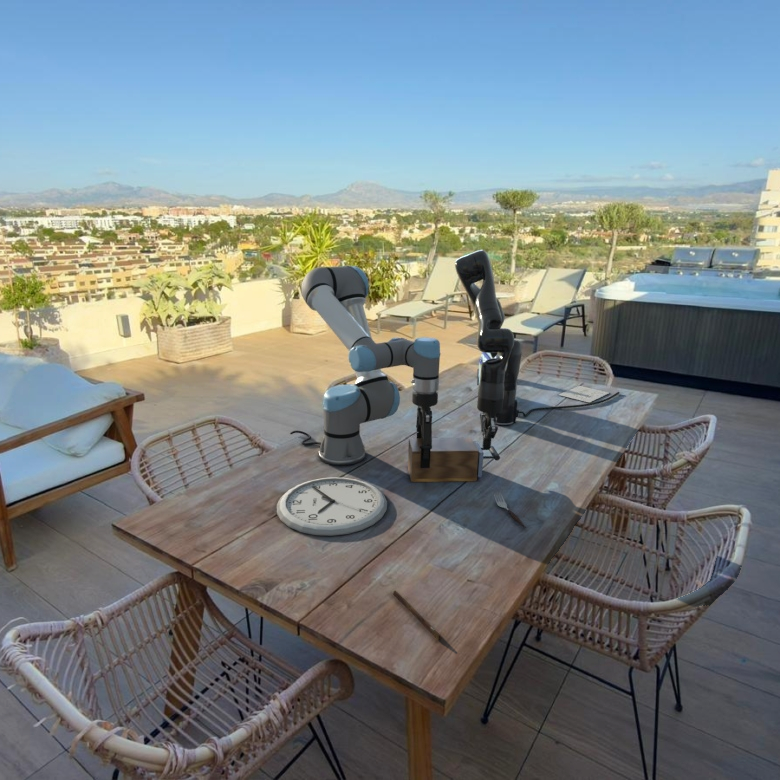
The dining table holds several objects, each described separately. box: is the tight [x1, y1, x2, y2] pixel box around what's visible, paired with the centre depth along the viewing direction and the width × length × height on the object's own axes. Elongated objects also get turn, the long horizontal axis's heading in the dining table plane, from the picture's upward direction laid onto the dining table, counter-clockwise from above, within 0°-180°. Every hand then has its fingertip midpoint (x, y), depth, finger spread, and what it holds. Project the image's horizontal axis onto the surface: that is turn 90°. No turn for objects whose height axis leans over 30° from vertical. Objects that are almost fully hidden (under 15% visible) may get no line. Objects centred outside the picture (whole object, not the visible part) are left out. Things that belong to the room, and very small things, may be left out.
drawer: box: [473, 440, 501, 478], centre depth 161 cm, size 24×9×8 cm, turn 94°
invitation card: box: [558, 385, 610, 404], centre depth 243 cm, size 21×1×15 cm
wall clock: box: [276, 476, 388, 537], centre depth 142 cm, size 30×2×30 cm
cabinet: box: [407, 437, 479, 483], centre depth 161 cm, size 20×10×10 cm, turn 94°
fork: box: [493, 492, 526, 529], centre depth 140 cm, size 3×16×2 cm, turn 15°
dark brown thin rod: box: [392, 590, 441, 641], centre depth 102 cm, size 15×1×1 cm, turn 34°
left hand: (422, 459), depth 160 cm, fingers closed on cabinet, 10 cm apart
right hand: (486, 448), depth 161 cm, fingers closed
